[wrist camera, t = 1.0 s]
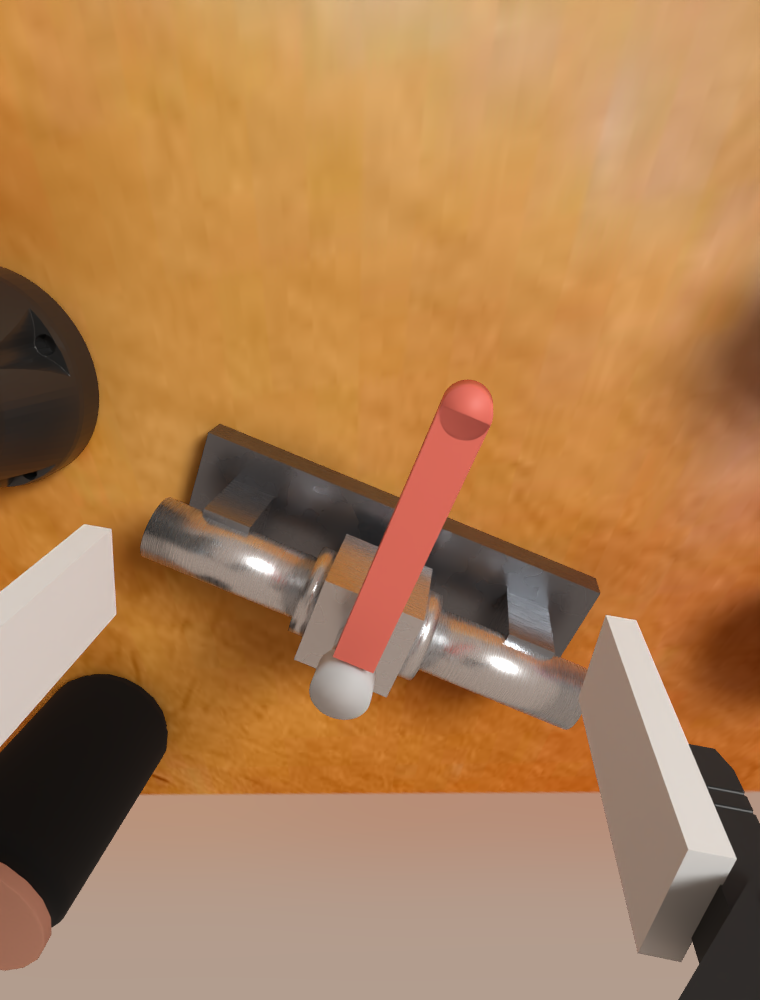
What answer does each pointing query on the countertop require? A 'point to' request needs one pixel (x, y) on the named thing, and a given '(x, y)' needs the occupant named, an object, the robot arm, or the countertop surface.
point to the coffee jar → (68, 800)
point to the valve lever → (403, 550)
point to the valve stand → (345, 563)
